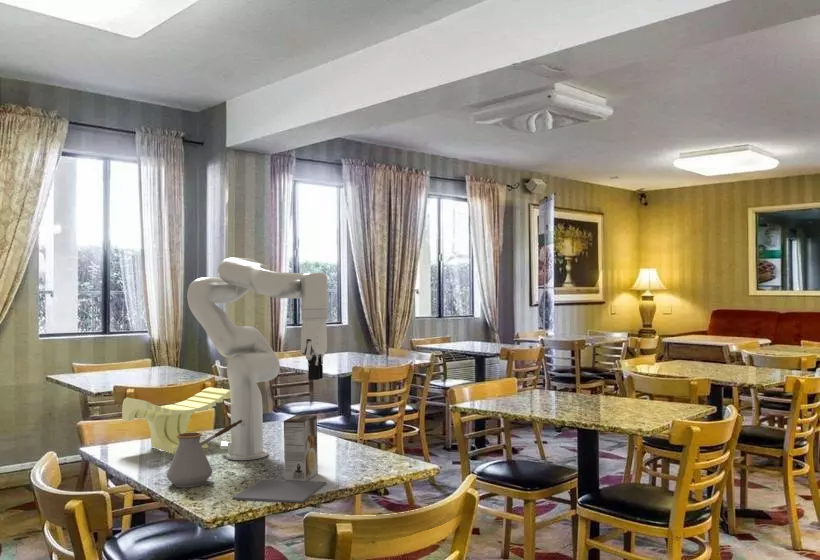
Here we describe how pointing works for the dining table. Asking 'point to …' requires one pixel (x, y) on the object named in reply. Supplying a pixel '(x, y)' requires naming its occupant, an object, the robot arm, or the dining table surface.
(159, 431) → the slatted curved stool
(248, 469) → the dining table surface
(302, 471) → the coffee box
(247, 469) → the dining table surface
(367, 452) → the dining table surface
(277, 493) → the mat
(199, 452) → the coffee pot
